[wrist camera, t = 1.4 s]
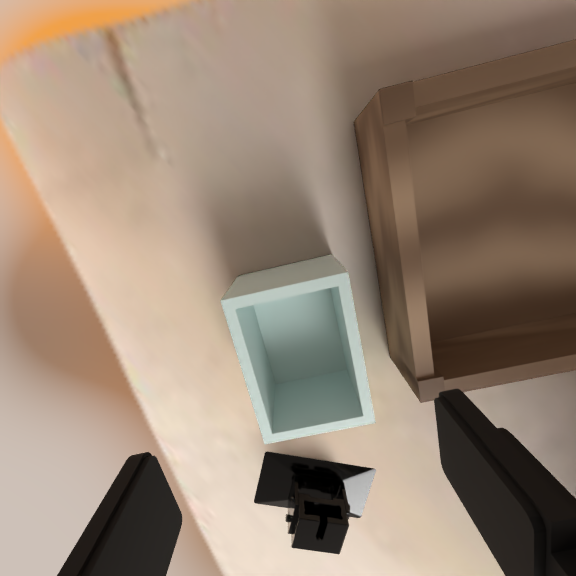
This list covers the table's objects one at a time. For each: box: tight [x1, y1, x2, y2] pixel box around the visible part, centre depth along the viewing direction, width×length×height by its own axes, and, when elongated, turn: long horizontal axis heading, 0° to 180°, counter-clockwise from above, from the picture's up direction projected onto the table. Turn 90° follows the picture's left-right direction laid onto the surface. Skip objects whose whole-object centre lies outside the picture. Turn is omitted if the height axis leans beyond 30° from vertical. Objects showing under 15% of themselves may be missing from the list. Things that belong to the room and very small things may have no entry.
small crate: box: [221, 254, 376, 444], centre depth 19 cm, size 9×6×6 cm
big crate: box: [354, 40, 576, 403], centre depth 17 cm, size 16×20×5 cm
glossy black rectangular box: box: [254, 452, 376, 554], centre depth 24 cm, size 12×7×5 cm, turn 79°
